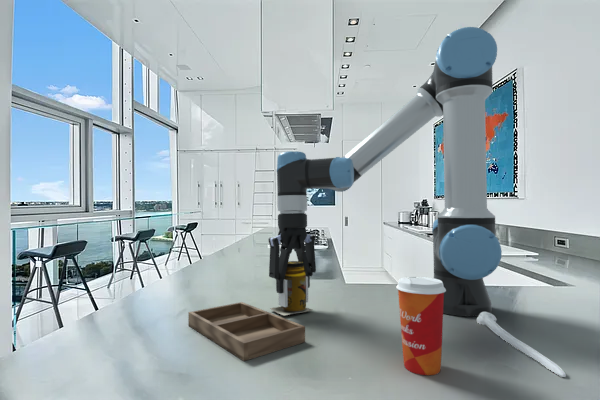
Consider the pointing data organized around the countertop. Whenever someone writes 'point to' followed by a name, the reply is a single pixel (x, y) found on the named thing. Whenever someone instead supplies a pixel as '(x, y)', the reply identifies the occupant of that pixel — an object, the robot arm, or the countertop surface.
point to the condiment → (294, 289)
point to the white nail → (518, 343)
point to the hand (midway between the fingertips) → (293, 303)
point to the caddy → (246, 329)
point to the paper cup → (421, 323)
